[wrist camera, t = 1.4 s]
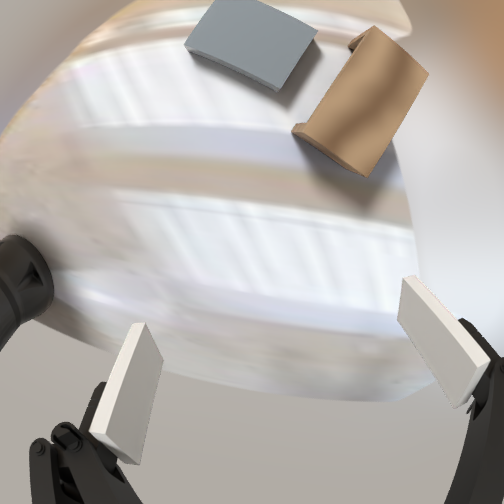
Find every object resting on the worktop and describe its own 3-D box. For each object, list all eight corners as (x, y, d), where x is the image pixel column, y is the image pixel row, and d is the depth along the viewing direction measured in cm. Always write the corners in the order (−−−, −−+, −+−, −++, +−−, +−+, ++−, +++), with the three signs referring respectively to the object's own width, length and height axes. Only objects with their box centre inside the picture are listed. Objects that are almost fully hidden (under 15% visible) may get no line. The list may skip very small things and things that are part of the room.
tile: (188, 51, 26) (183, 44, 24) (225, -2, 23) (224, -12, 21) (277, 92, 29) (280, 88, 26) (312, 38, 26) (318, 30, 23)
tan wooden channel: (290, 131, 31) (303, 132, 25) (351, 40, 26) (374, 25, 20) (345, 168, 33) (367, 178, 27) (400, 79, 28) (429, 73, 22)
